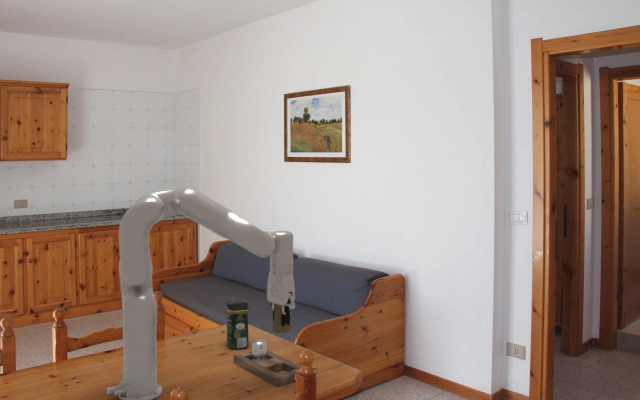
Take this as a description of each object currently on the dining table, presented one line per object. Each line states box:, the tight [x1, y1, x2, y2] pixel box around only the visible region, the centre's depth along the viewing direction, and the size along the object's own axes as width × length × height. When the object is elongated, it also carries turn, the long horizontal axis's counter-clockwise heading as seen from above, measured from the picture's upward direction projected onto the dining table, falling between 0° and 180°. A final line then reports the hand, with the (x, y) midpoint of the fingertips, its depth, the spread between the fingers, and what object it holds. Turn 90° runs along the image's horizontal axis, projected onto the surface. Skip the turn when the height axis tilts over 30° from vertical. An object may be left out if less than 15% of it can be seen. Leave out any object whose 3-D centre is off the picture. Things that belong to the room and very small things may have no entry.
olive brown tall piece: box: [272, 302, 291, 334], centre depth 179 cm, size 6×6×11 cm
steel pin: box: [251, 338, 268, 362], centre depth 190 cm, size 5×5×8 cm
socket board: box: [233, 349, 301, 387], centre depth 186 cm, size 13×27×2 cm, turn 39°
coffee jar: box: [226, 296, 249, 350], centre depth 209 cm, size 10×8×19 cm
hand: (281, 323), depth 180 cm, fingers closed on olive brown tall piece, 4 cm apart
